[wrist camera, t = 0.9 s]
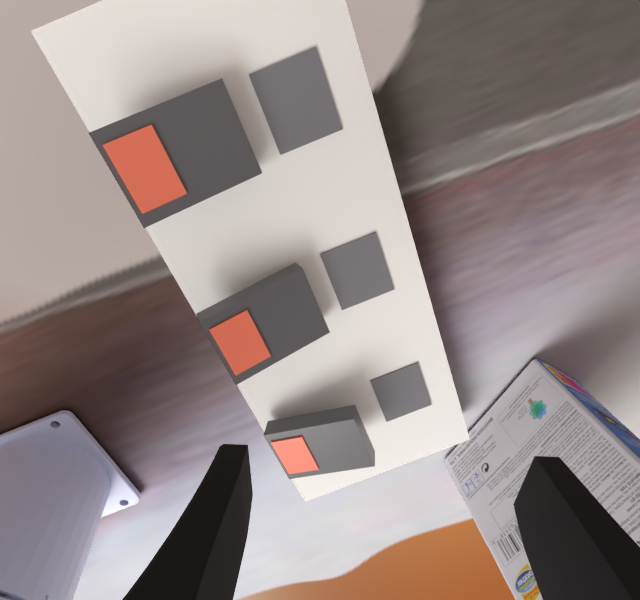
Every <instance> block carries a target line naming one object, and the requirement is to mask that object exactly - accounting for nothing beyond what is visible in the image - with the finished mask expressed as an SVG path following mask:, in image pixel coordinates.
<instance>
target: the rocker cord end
mask: <svg viewBox="0 0 640 600" xmlns="http://www.w3.org/2000/svg"><path fill="white" fill-rule="evenodd" d="M89 135H90V136H91V138H92V140H93V141H94V143H95V145H96V147H97V148H98V150H99V152H100V153H101V155H102V157H103V158H104V160H105V162H106V163H107V165H108V167H109V169H110V170H111V172H112V174H113V176H114V177H115V179H116V181H117V182H118V184H119V186H120V187H121V189H122V191H123V193H124V194H125V196H126V198H127V199H128V201H129V203H130V205H131V206H132V208H133V210H134V211H135V213H136V215H137V217H138V218H139V220H140V222H141V223H142V225H143V227H144V228H146V227H148V226H150V225H152V224H154V223H156V222H159V221H161V220H163V219H165V218H167V217H169V216H171V215H174V214H176V213H178V212H180V211H182V210H184V209H187V208H189V207H191V206H193V205H195V204H197V203H199V202H202V201H204V200H206V199H208V198H210V197H212V196H215V195H217V194H219V193H221V192H223V191H225V190H227V189H230V188H232V187H234V186H236V185H238V184H240V183H242V182H245V181H247V180H249V179H251V178H253V177H255V176H258V175H260V174H262V171H261V168H260V166H259V164H258V161H257V159H256V157H255V154H254V152H253V150H252V147H251V145H250V142H249V140H248V138H247V135H246V133H245V131H244V128H243V126H242V124H241V121H240V119H239V117H238V114H237V112H236V109H235V107H234V105H233V102H232V100H231V98H230V95H229V93H228V91H227V88H226V86H225V83H224V81H223V79H222V78H221V79H219V80H216V81H214V82H211V83H209V84H207V85H204V86H202V87H199V88H197V89H194V90H192V91H189V92H187V93H185V94H182V95H180V96H177V97H175V98H172V99H170V100H167V101H165V102H163V103H160V104H158V105H155V106H153V107H150V108H148V109H146V110H143V111H141V112H138V113H136V114H133V115H131V116H128V117H126V118H124V119H121V120H119V121H116V122H114V123H111V124H109V125H107V126H104V127H102V128H99V129H97V130H94V131H92V132H89Z"/></svg>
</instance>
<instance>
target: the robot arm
mask: <svg viewBox="0 0 640 600" xmlns="http://www.w3.org/2000/svg"><path fill="white" fill-rule="evenodd" d="M53 421H57V422H59V423H60V424H57V423H55V422H53ZM252 495H253V493H252V483H251V473H250V463H249V453H248V445H234V444H223V445H222V446H220V447H219V450H218V452H217V454H216V456H215V458H214V460H213V462H212V464H211V466H210V468H209V470H208V471H207V473H206V475H205V477H204V479H203V481H202V482H201V484H200V486H199V488H198V489H197V491H196V493H195V494H194V496H193V498H192V500H191V501H190V503H189V504H188V506H187V508H186V509H185V511H184V512H183V514H182V516H181V517H180V519H179V520H178V522H177V524H176V525H175V527H174V528H173V530H172V531H171V533H170V534H169V536H168V537H167V539H166V540H165V542H164V543H163V545H162V546H161V548H160V549H159V550H158V552H157V553H156V555H155V556H154V558H153V559H152V561H151V562H150V563H149V565H148V566H147V568H146V569H145V570H144V572H143V573H142V575H141V576H140V577H139V579H138V580H137V581H136V583H135V584H134V585H133V587H132V588H131V589H130V591H129V592H128V593H127V595H126V596H125V597H124V598H123V600H233V596H234V592H235V587H236V583H237V579H238V574H239V570H240V566H241V561H242V557H243V552H244V548H245V543H246V539H247V533H248V526H249V519H250V511H251V503H252ZM140 497H141V494H140V492H139V491H138V490H137V489H136V487H135V486H134V485H133V484H132V483H131V482H130V480H129V479H128V478H127V477H126V476H125V474H124V473H123V472H122V471H121V470H120V468H119V467H118V466H117V465H116V464H115V463H114V461H113V460H112V459H111V458H110V457H109V455H108V454H107V453H106V452H105V451H104V449H103V448H102V447H101V446H100V445H99V444H98V442H97V441H96V440H95V439H94V438H93V436H92V435H91V434H90V433H89V432H88V430H87V429H86V428H85V427H84V426H83V425H82V423H81V422H80V421H79V420H78V419H77V417H76V416H75V415H74V414H73V413H72V412H70V411H66V410H63V411H59V412H56V413H54V414H51V415H49V416H46V417H44V418H41V419H39V420H36V421H34V422H31V423H29V424H26V425H24V426H21V427H19V428H16V429H14V430H11V431H9V432H6V433H3V434H1V435H0V600H72V599H73V596H74V594H75V591H76V588H77V585H78V582H79V579H80V576H81V574H82V571H83V568H84V565H85V562H86V559H87V556H88V554H89V551H90V548H91V545H92V542H93V539H94V536H95V534H96V531H97V528H98V525H99V522H100V519H101V517H104V516H106V515H109V514H111V513H114V512H117V511H119V510H122V509H124V508H127V507H130V506H132V505H135V504H137V503H138V502H139V501H140ZM513 505H514V509H515V514H516V518H517V522H518V527H519V531H520V534H521V538H522V542H523V546H524V549H525V552H526V555H527V558H528V561H529V563H530V566H531V569H532V571H533V574H534V577H535V580H536V582H537V585H538V588H539V591H540V593H541V596H542V599H543V600H640V547H639V546H638V545H637V543H636V542H635V541H634V540H633V539H632V538H631V537H630V536H629V535H628V534H627V533H626V532H625V531H624V529H623V528H622V527H621V526H620V525H619V524H618V523H617V522H616V521H615V520H614V518H613V517H612V516H611V515H610V514H609V513H608V512H607V511H606V510H605V508H604V507H603V506H602V505H601V504H600V503H599V502H598V500H597V499H596V498H595V497H594V496H593V495H592V494H591V493H590V491H589V490H588V489H587V488H586V487H585V486H584V485H583V483H582V482H581V481H580V480H579V479H578V478H577V477H576V475H575V474H574V473H573V472H572V471H571V470H570V469H569V467H568V466H567V465H566V464H565V463H564V462H563V461H562V460H561V458H560V457H547V456H534V459H533V461H532V463H531V465H530V468H529V470H528V472H527V474H526V477H525V479H524V481H523V484H522V486H521V488H520V490H519V493H518V495H517V497H516V499H515V502H514V504H513Z"/></svg>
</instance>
